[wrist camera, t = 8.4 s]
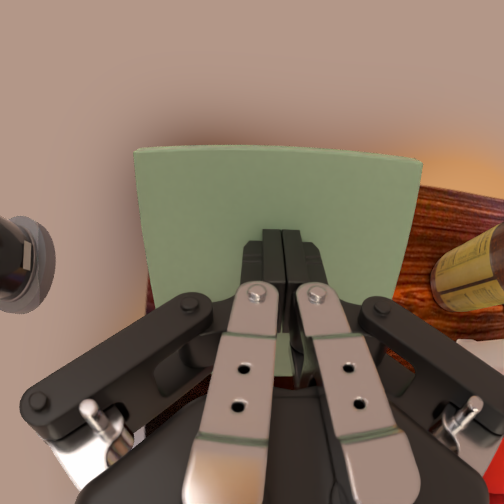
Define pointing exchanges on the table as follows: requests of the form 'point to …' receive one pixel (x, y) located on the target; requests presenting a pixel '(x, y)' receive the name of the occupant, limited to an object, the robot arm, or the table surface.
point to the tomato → (496, 472)
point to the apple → (496, 498)
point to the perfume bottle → (486, 351)
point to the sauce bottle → (471, 273)
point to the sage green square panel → (273, 216)
